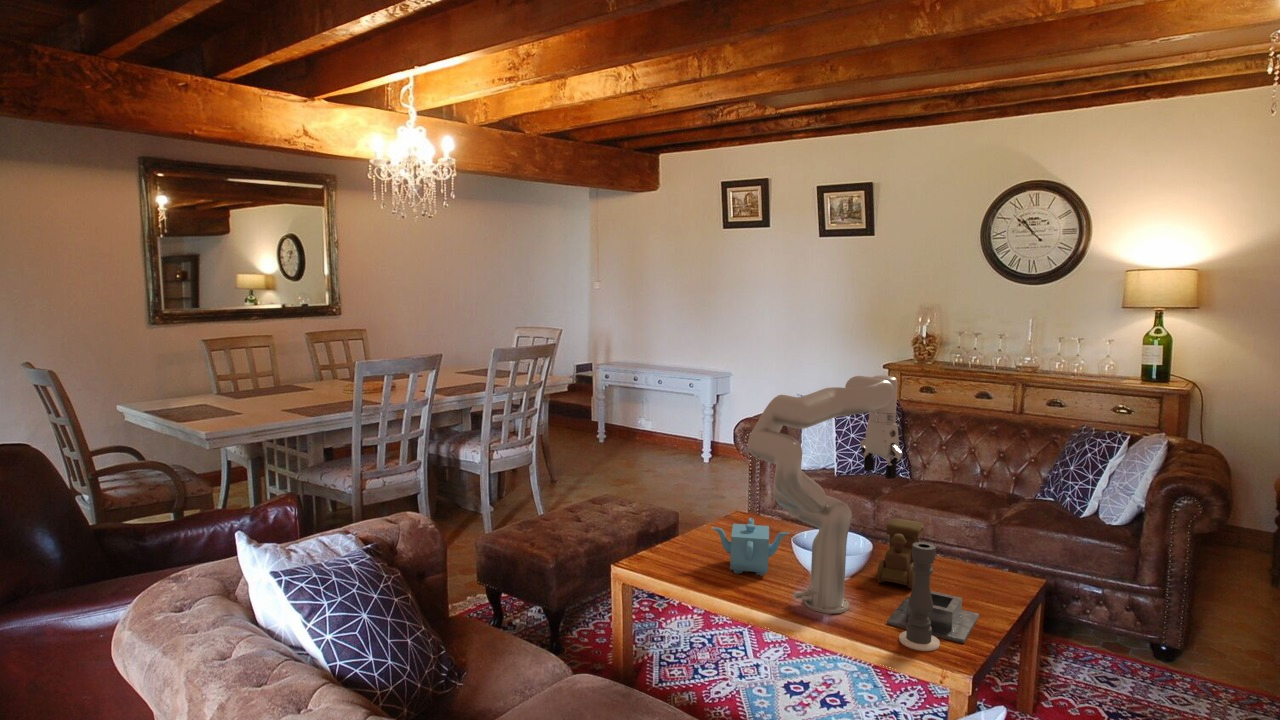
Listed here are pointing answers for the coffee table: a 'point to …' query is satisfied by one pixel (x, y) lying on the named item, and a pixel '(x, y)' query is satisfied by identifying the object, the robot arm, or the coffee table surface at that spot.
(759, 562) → the teakettle
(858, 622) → the coffee table surface
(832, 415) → the robot arm
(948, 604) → the socket
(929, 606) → the candle holder
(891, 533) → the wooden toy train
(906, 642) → the coaster
